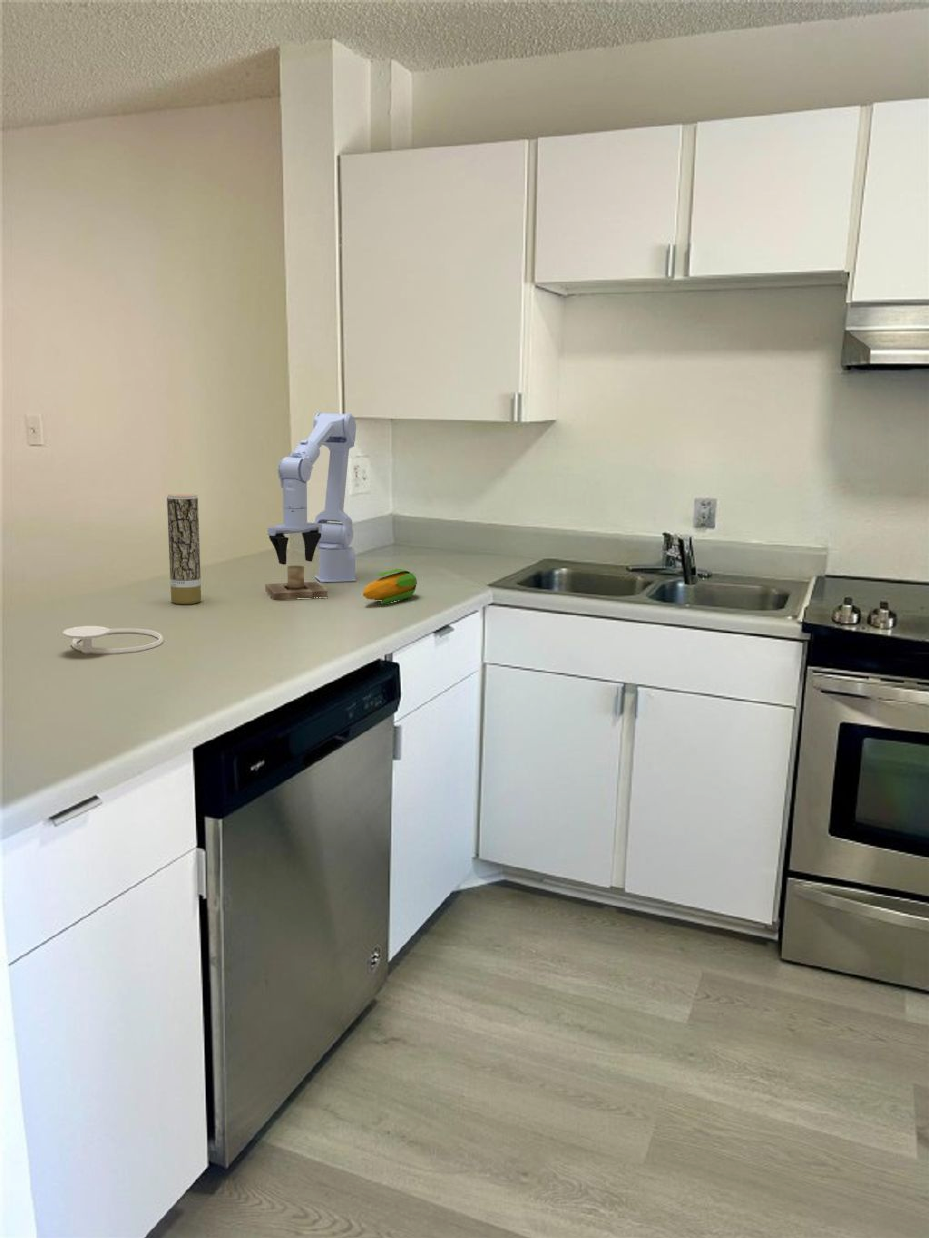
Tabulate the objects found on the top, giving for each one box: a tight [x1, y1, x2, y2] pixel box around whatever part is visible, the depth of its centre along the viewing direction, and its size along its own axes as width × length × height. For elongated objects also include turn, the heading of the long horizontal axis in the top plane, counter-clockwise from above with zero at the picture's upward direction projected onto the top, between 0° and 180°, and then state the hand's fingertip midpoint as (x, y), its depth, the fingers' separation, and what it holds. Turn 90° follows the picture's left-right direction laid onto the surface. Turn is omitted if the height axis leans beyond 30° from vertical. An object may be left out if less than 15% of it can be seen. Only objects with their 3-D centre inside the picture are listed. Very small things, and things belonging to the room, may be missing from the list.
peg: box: [286, 564, 305, 590], centre depth 227 cm, size 4×4×7 cm
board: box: [264, 581, 328, 601], centre depth 227 cm, size 13×12×2 cm
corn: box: [362, 568, 418, 605], centre depth 223 cm, size 7×8×20 cm
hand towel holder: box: [62, 625, 165, 655], centre depth 176 cm, size 17×4×21 cm
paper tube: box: [166, 493, 202, 605], centre depth 212 cm, size 7×7×25 cm
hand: (295, 562), depth 226 cm, fingers open, 7 cm apart
